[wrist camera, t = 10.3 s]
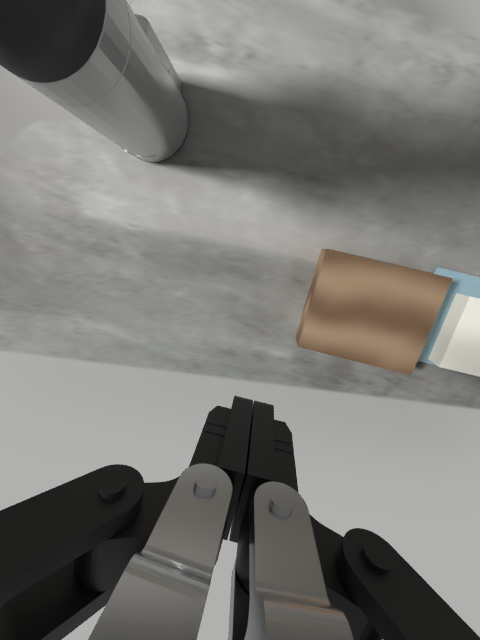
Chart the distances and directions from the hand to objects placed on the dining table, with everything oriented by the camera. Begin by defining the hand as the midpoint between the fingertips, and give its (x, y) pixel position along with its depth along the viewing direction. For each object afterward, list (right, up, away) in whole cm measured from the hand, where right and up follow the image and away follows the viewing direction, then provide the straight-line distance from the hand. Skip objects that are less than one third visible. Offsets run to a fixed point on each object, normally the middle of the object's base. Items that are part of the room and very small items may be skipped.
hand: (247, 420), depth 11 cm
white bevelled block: (+28, +2, +23) cm, 36 cm away
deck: (+15, +5, +26) cm, 31 cm away
